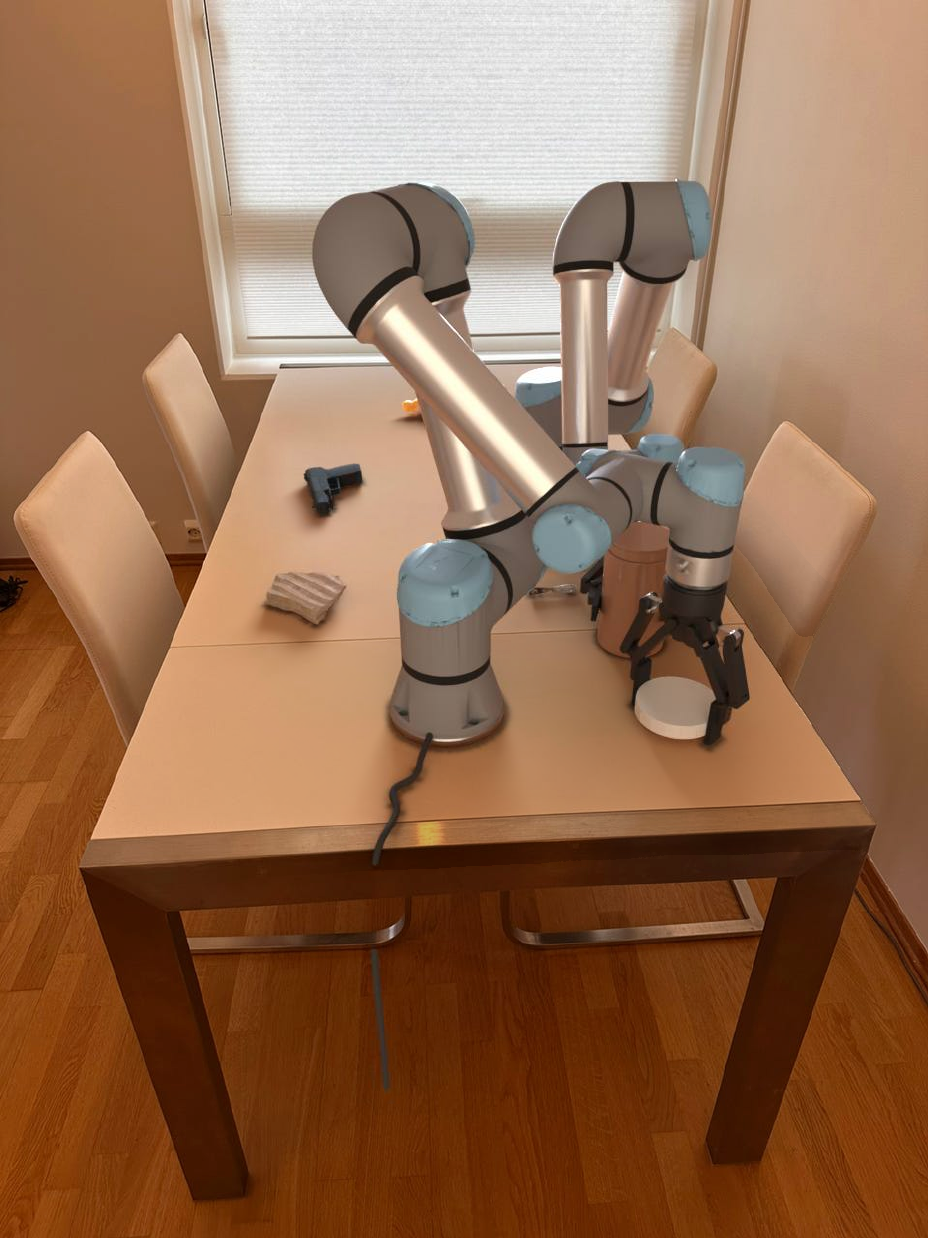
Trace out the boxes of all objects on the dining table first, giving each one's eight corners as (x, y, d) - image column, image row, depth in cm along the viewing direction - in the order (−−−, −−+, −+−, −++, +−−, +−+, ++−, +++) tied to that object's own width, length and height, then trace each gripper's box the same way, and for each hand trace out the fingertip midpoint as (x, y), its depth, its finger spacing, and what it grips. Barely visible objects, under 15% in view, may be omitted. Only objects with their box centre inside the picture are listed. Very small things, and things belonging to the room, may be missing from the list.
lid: (734, 731, 115) (737, 718, 114) (656, 746, 113) (658, 733, 112) (694, 683, 124) (696, 670, 123) (621, 696, 122) (622, 683, 121)
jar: (584, 642, 136) (592, 537, 126) (619, 615, 142) (629, 514, 132) (641, 666, 130) (654, 558, 121) (674, 637, 136) (689, 533, 127)
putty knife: (576, 592, 148) (577, 584, 147) (529, 598, 146) (530, 589, 145) (574, 589, 149) (575, 581, 148) (528, 595, 147) (528, 586, 146)
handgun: (374, 509, 176) (313, 517, 173) (359, 474, 190) (302, 481, 188) (373, 494, 174) (311, 502, 172) (358, 460, 188) (301, 466, 186)
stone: (356, 590, 149) (354, 577, 147) (319, 626, 139) (317, 612, 138) (289, 576, 153) (287, 563, 152) (249, 610, 144) (247, 596, 142)
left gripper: (600, 554, 112) (588, 694, 124) (767, 624, 98) (736, 775, 110) (636, 535, 117) (622, 672, 128) (801, 600, 102) (768, 748, 114)
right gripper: (713, 578, 147) (706, 651, 128) (578, 561, 152) (552, 629, 134) (720, 537, 143) (713, 607, 124) (580, 521, 148) (554, 585, 130)
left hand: (674, 720), depth 119 cm, fingers closed on lid, 11 cm apart
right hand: (630, 618), depth 129 cm, fingers closed on jar, 10 cm apart
